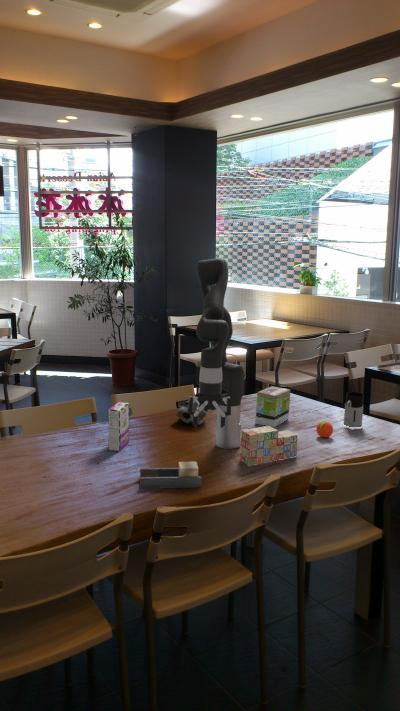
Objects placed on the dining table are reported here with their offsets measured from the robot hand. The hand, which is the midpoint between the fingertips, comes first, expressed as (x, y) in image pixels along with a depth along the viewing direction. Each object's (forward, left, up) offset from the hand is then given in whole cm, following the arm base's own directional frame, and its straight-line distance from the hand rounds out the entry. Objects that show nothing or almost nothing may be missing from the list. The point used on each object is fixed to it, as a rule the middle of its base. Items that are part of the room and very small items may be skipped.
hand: (208, 426), depth 203 cm
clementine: (-54, -42, -19) cm, 72 cm away
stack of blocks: (-26, -19, -19) cm, 37 cm away
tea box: (-37, -64, -19) cm, 77 cm away
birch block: (+7, +2, -18) cm, 19 cm away
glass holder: (-70, -54, -19) cm, 91 cm away
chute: (+13, +2, -19) cm, 23 cm away
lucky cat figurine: (-1, -65, -19) cm, 68 cm away
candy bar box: (+31, -34, -19) cm, 50 cm away
